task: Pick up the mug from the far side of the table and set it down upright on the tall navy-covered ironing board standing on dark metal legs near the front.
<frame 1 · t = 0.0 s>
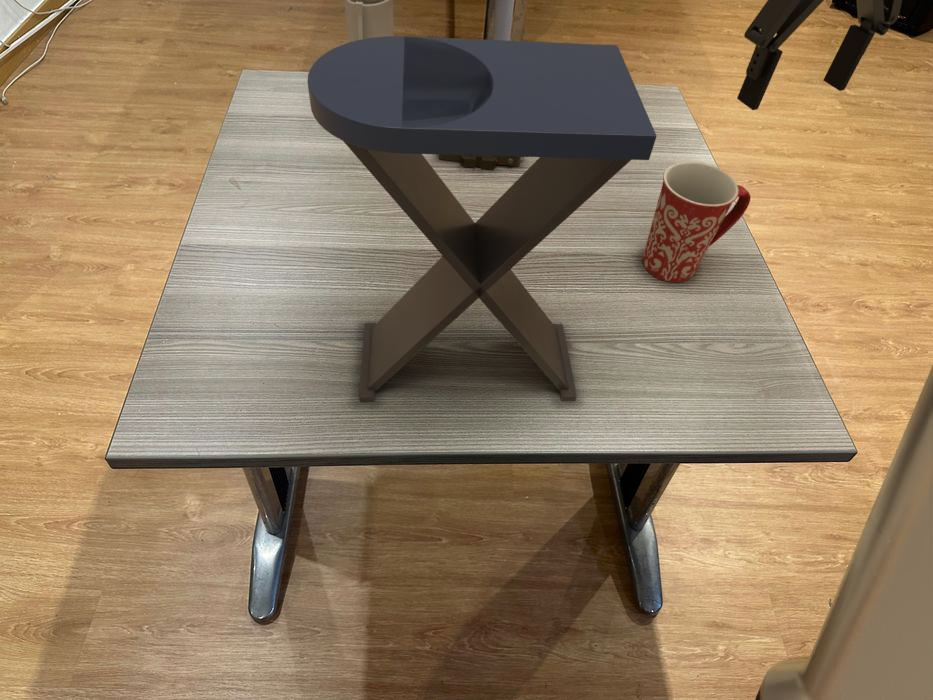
hand: (791, 94, 76), 22 cm above the table, tool pointing down, fingers open, 13 cm apart
mug: (679, 264, 89), on the table
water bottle: (373, 123, 107), on the table
landmine: (480, 143, 105), on the table
ironing board: (468, 80, 49), on the table
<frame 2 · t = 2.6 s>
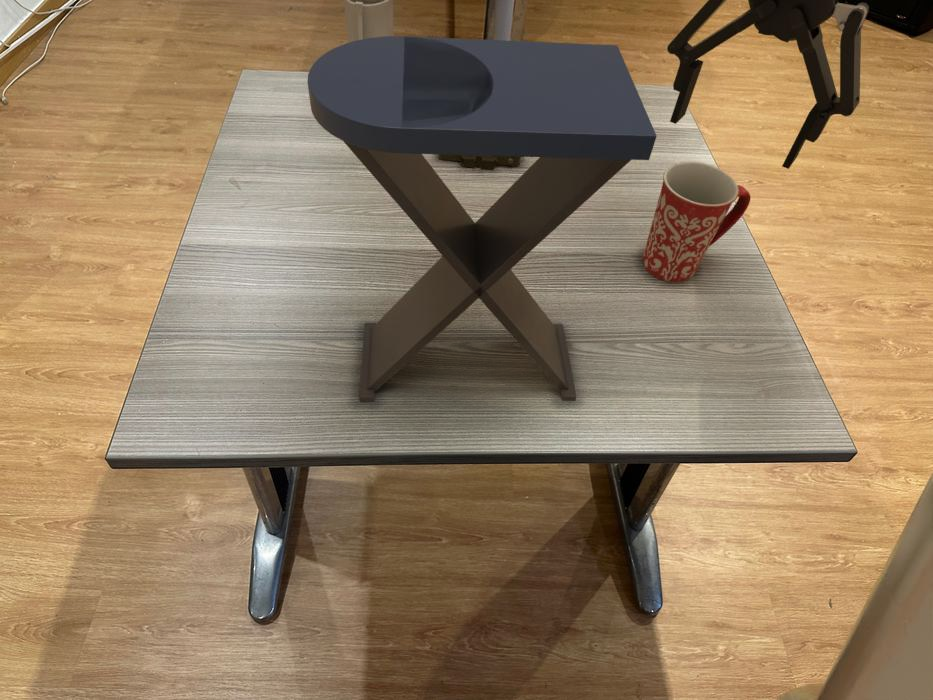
hand: (731, 140, 74), 19 cm above the table, tool pointing down, fingers open, 13 cm apart
nothing on the table moved.
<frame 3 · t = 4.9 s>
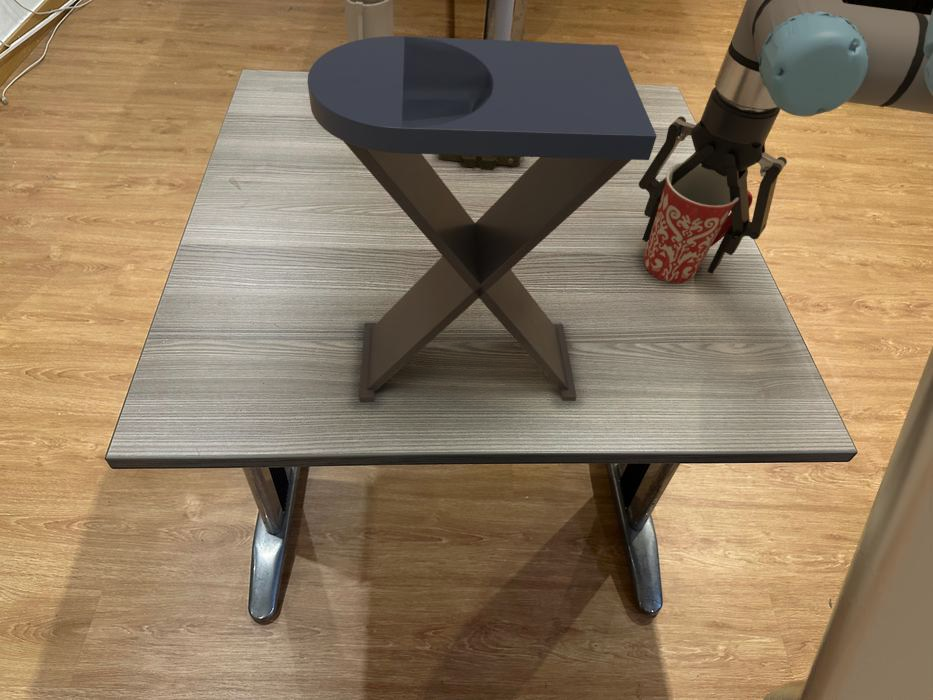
hand: (680, 251, 88), 2 cm above the table, tool pointing down, fingers closed on mug, 9 cm apart
mug: (680, 265, 89), on the table, touching gripper
everything else where it was.
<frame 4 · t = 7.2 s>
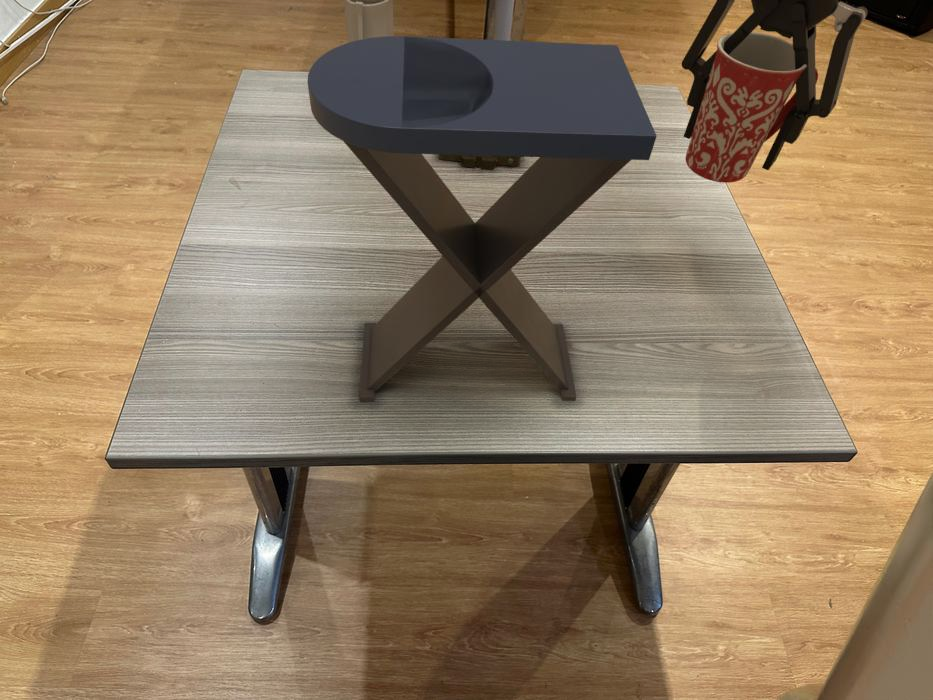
hand: (729, 148, 75), 18 cm above the table, tool pointing down, fingers closed on mug, 9 cm apart
mug: (728, 166, 76), point 16 cm above the table, touching gripper
everything else where it was.
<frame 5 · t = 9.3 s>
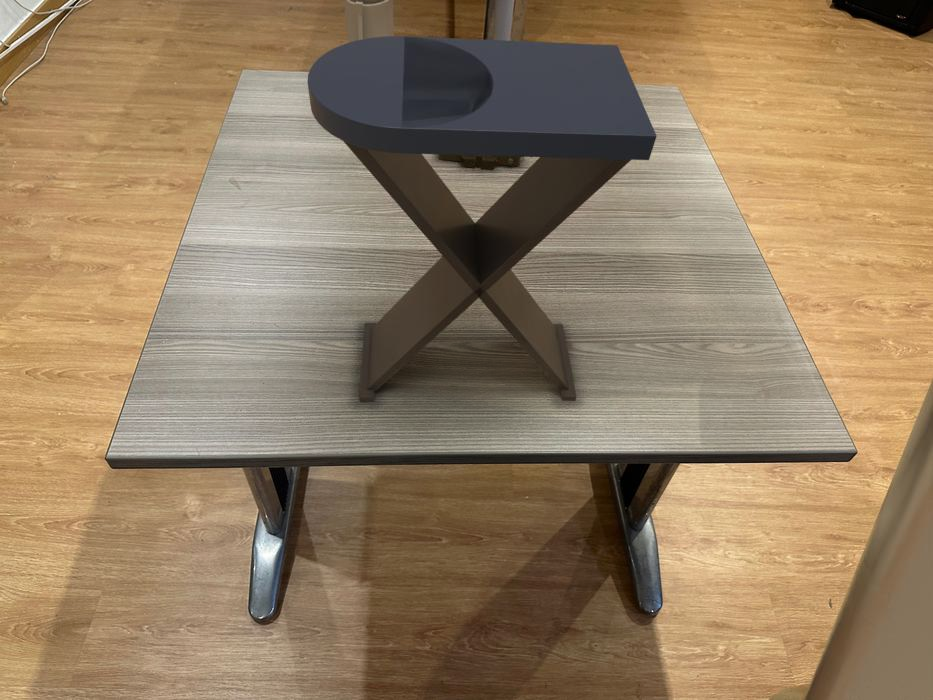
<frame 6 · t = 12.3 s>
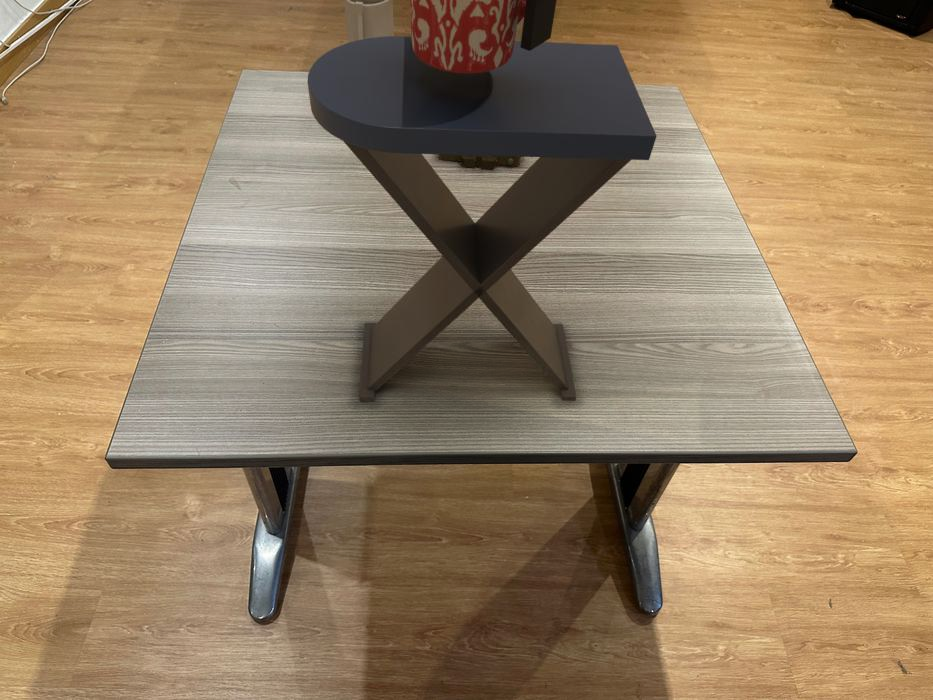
hand: (479, 21, 46), 38 cm above the table, tool pointing down, fingers closed on mug, 9 cm apart
mug: (484, 52, 47), point 36 cm above the table, touching gripper
everything else where it was.
when the fingers open (36 cm above the table, at t = 13.5 s): mug stays where it is, point 34 cm above the table.
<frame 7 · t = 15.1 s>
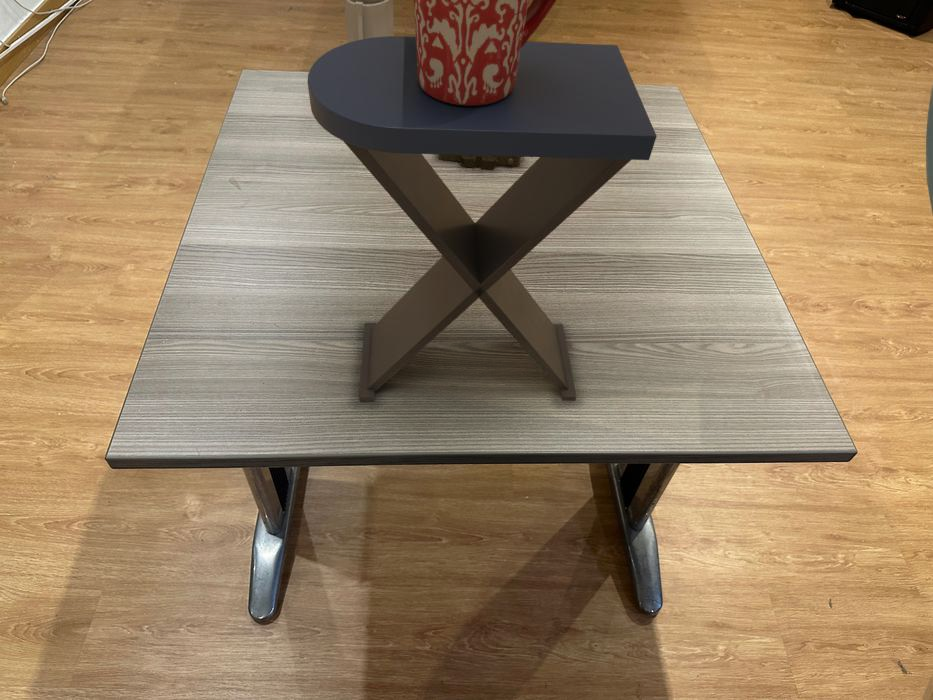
mug: (486, 82, 49), point 34 cm above the table
everything else where it was.
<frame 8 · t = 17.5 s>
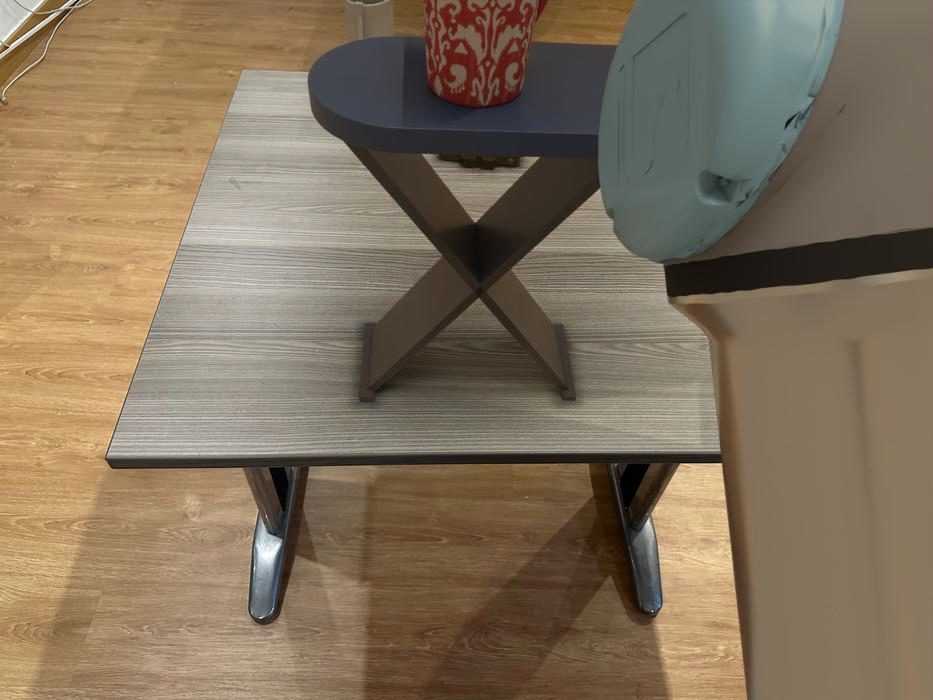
mug: (492, 80, 50), point 34 cm above the table, touching ironing board
everything else where it was.
at the end: mug inside the target area on the ironing board (1.9 cm from its centre), point 0.0 cm above the ironing board's base; mug tilted 0°; the gripper is holding nothing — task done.
